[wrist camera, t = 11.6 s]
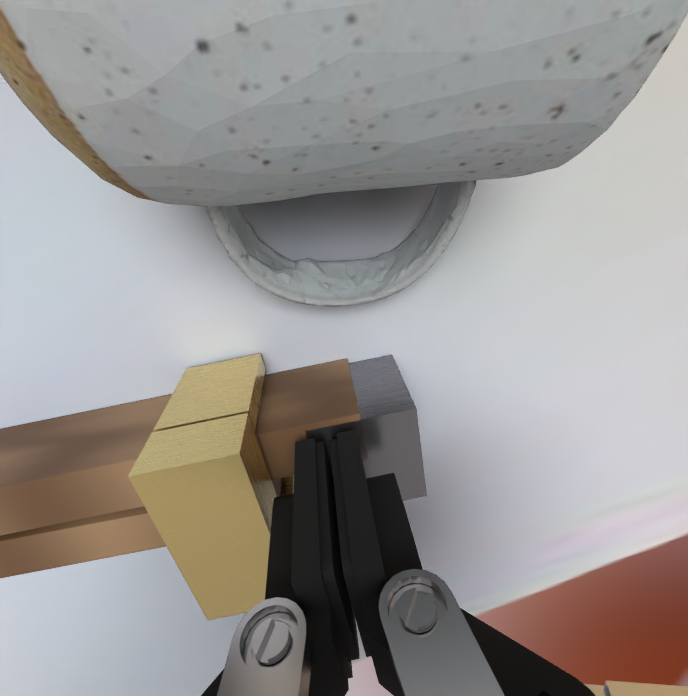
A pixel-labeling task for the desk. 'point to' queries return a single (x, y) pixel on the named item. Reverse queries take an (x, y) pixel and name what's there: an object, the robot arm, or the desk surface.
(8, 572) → the bar
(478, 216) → the desk surface
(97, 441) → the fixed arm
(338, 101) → the ceramic mug
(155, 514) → the collar
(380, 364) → the block
